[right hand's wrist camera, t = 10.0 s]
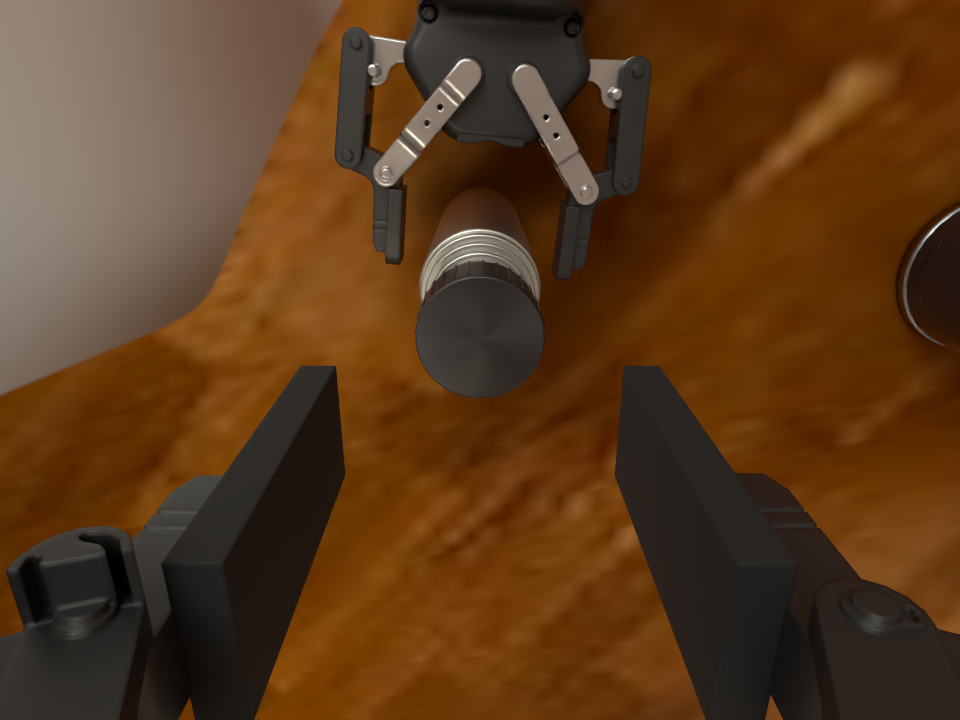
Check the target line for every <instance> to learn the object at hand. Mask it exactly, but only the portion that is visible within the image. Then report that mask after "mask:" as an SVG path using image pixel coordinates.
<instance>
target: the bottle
mask: <svg viewBox="0 0 960 720" xmlns="http://www.w3.org/2000/svg"><path fill="white" fill-rule="evenodd" d="M482 260H484V262H491V263H495V262H498V264H499V265H502V266H504V267H506V268H508V267H510V268H511V270H512V271H513V272H515V273H516V274H517V275H521V276H522V278H523V280H524V281H525V282H526V283H527V285H530V286H531V289H532V292H533V295H534V297H535V296H536V297H537V300H538V303H539V300H540V295H541V280H540V275H539V271H538V268H537V265H536V263H535V260H534V257H533V255H532V252H531V249H530V246H529V244H528V241H527V238H526V236H525V233H524V230H523V228H522V225H521V222H520V219H519V217H518V214H517V211H516V209H515V207H514V206H513V204H512V203H511V201H510V200H509V199H508V198H507V197H506V196H504V195H503V194H502V193H500V192H498V191H496V190H494V189H490V188H486V187H474V188H469V189H466V190H464V191H462V192H460V193H458V194H457V195H456V196H454V197H453V198H452V199H451V200H450V201H449V203H448V204H447V206H446V207H445V209H444V211H443V214H442V217H441V219H440V222H439V225H438V227H437V230H436V233H435V235H434V238H433V241H432V243H431V246H430V249H429V252H428V254H427V257H426V260H425V262H424V265H423V268H422V271H421V275H420V281H419V295H420V301H421V303H422V302H423V299H424V296H425V292H426V291H429V289H430V287H431V286H432V282H433V281H434V280H435V281H436V280H437V279H438V278H439V277H440V276H441V275H442V273H443V272H444V271H445V272H447V271H448V270H450V269H452V268H454V265H456V264H457V266H458V265H461V264H465V263H468V261H470V262H477V261H479V262H482Z"/></svg>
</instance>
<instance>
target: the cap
mask: <svg viewBox="0 0 960 720" xmlns="http://www.w3.org/2000/svg"><path fill="white" fill-rule="evenodd" d="M417 320H418V322H417V326H416V329H415V333H416V347H417V352H418V355H419V358H420V360H421V362H422V365H423V366H424V368H425V369H426V371H427V372H428V374H429V375H430V376H431V377H432V378H433V379H434V380H435V381H436V382H437V383H438V384H440V385H441V386H442V387H444V388H445V389H447V390H449V391H451V392H453V393H456V394H458V395H462V396H466V397H472V398H488V397H494V396H499V395H501V394H504V393H507V392H509V391H511V390H513V389H515V388H516V387H518V386H519V385H521V384H522V383H523V382H524V381H525V380H526V379H527V378H528V377H529V376H530V375H531V374H532V372H533V371H534V369H535V368H536V366H537V364H538V362H539V360H540V358H541V355H542V352H543V347H544V339H545V335H544V327H543V326H544V321H543V317H542V314H541V310H540V306H539V303H538V300H537V297H536V296H535V297H534V295H533V292H532V289H531V286H530V285H527V283H526V282H525V281H524V280H523V278H522V276H521V275H517V274H516V273H515V272H513V271H512V270H511V268H510V267H508V268H506V267H504V266H502V265H499V264H498V262H495V263H491V262H484V260H482V262H479V261H477V262H470V261H468V263H465V264H461V265H458V266H457V264H456V265H454V268H452V269H450V270H448V271H447V272H445V271H444V272H443V273H442V275H441V276H440V277H439V278H438V279H437V280H436V281H435V280H434V281H433V282H432V286H431V287H430V289H429V291H426V292H425V296H424V299H423V302H422V303H421V306H420V309H419V312H418V316H417Z"/></svg>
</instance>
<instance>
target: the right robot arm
mask: <svg viewBox="0 0 960 720" xmlns="http://www.w3.org/2000/svg"><path fill="white" fill-rule="evenodd" d="M344 477H345V466H344V455H343V443H342V432H341V420H340V409H339V397H338V386H337V374H336V366H301V367H300V368H299V369H298V371H297V372H296V374H295V375H294V377H293V378H292V379H291V381H290V382H289V384H288V385H287V386H286V388H285V389H284V391H283V392H282V393H281V395H280V396H279V398H278V399H277V401H276V402H275V403H274V405H273V406H272V408H271V409H270V410H269V412H268V413H267V415H266V416H265V418H264V419H263V420H262V422H261V423H260V425H259V426H258V427H257V429H256V430H255V432H254V433H253V435H252V436H251V437H250V439H249V440H248V442H247V443H246V444H245V446H244V447H243V449H242V450H241V451H240V453H239V454H238V456H237V457H236V459H235V460H234V461H233V463H232V464H231V466H230V467H229V468H228V470H227V471H226V473H225V474H224V476H196V477H194V478H193V479H191V480H189V481H188V482H186V483H185V484H183V485H182V486H180V487H179V488H177V489H176V490H174V491H173V492H172V493H171V494H170V495H169V496H168V497H167V499H166V500H165V501H164V502H163V504H162V505H161V506H160V507H159V509H158V510H157V514H154V515H153V516H152V517H151V518H150V520H149V521H148V522H147V523H146V525H145V526H144V530H141V531H140V532H139V533H138V534H137V536H136V537H135V538H134V539H133V541H132V538H131V537H130V536H129V535H128V534H127V533H125V532H124V531H123V530H122V529H117V528H112V527H107V526H100V527H86V528H80V529H76V530H73V531H69V532H65V533H61V534H58V535H56V536H54V537H51V538H49V539H47V540H45V541H42V542H40V543H38V544H36V545H35V546H33V547H32V548H30V549H29V550H27V551H26V552H24V553H23V554H21V555H20V556H18V557H17V559H16V560H15V561H14V562H13V563H12V564H11V566H10V567H9V568H8V569H7V570H6V574H7V577H8V580H9V583H10V586H11V589H12V592H13V595H14V598H15V601H16V604H17V607H18V610H19V613H20V616H21V620H22V623H23V626H24V628H23V630H22V632H20V633H16V634H13V635H8V636H4V637H0V720H178V719H179V717H180V715H181V713H182V711H183V709H184V707H185V705H186V703H187V701H188V699H189V697H190V699H191V703H192V708H193V712H194V717H195V720H254V719H255V716H256V713H257V711H258V708H259V705H260V703H261V700H262V697H263V694H264V692H265V689H266V686H267V684H268V681H269V678H270V676H271V673H272V670H273V668H274V665H275V662H276V660H277V657H278V654H279V651H280V649H281V646H282V643H283V641H284V638H285V635H286V633H287V630H288V627H289V625H290V622H291V619H292V617H293V614H294V611H295V608H296V606H297V603H298V600H299V598H300V595H301V592H302V590H303V587H304V584H305V582H306V579H307V576H308V574H309V571H310V568H311V566H312V563H313V560H314V557H315V555H316V552H317V549H318V547H319V544H320V541H321V539H322V536H323V533H324V531H325V528H326V525H327V523H328V520H329V517H330V514H331V512H332V509H333V506H334V504H335V501H336V498H337V496H338V493H339V490H340V488H341V485H342V482H343V480H344ZM615 477H616V480H617V482H618V485H619V488H620V490H621V493H622V496H623V498H624V501H625V504H626V506H627V509H628V512H629V514H630V517H631V520H632V523H633V525H634V528H635V531H636V533H637V536H638V539H639V541H640V544H641V547H642V549H643V552H644V555H645V557H646V560H647V563H648V566H649V568H650V571H651V574H652V576H653V579H654V582H655V584H656V587H657V590H658V592H659V595H660V598H661V600H662V603H663V606H664V608H665V611H666V614H667V617H668V619H669V622H670V625H671V627H672V630H673V633H674V635H675V638H676V641H677V643H678V646H679V649H680V651H681V654H682V657H683V660H684V662H685V665H686V668H687V670H688V673H689V676H690V678H691V681H692V684H693V686H694V689H695V692H696V694H697V697H698V700H699V703H700V705H701V708H702V711H703V713H704V716H705V719H706V720H765V717H766V712H767V708H768V703H769V699H770V694H771V696H772V698H773V700H774V702H775V704H776V706H777V708H778V710H779V712H780V714H781V716H782V718H783V720H960V634H955V633H951V632H947V631H943V630H940V629H937V627H936V625H935V624H934V623H933V621H932V620H931V618H930V617H929V616H928V614H927V613H926V611H925V610H923V609H922V608H921V607H919V606H918V605H917V604H916V603H914V602H913V601H912V600H910V599H909V598H908V597H906V596H904V595H902V594H900V593H898V592H896V591H894V590H892V589H890V588H888V587H887V586H884V585H880V584H877V583H874V582H870V581H867V580H863V579H861V578H860V577H859V576H858V574H857V573H856V572H855V571H854V569H853V568H852V567H851V566H850V565H849V563H848V562H847V561H846V560H845V558H844V557H843V556H842V555H841V554H840V552H839V551H838V550H837V549H836V547H835V546H834V545H833V544H832V542H831V541H830V540H829V539H828V538H827V536H826V535H825V534H824V533H823V531H822V530H821V529H820V528H817V526H816V523H815V522H814V520H813V519H812V518H811V517H810V516H809V514H808V513H807V512H804V508H803V507H802V506H801V505H800V503H799V502H798V501H797V500H796V498H795V497H794V496H793V495H792V494H791V492H790V491H789V490H788V489H787V488H785V487H783V486H782V485H780V484H779V483H777V482H776V481H774V480H773V479H771V478H769V477H768V476H766V475H765V474H763V473H734V471H733V470H732V468H731V467H730V466H729V464H728V463H727V461H726V460H725V459H724V457H723V456H722V454H721V453H720V451H719V450H718V449H717V447H716V446H715V444H714V443H713V442H712V440H711V439H710V437H709V436H708V435H707V433H706V432H705V430H704V429H703V427H702V426H701V425H700V423H699V422H698V420H697V419H696V418H695V416H694V415H693V413H692V412H691V410H690V409H689V408H688V406H687V405H686V403H685V402H684V401H683V399H682V398H681V396H680V395H679V393H678V392H677V391H676V389H675V388H674V386H673V385H672V384H671V382H670V381H669V379H668V378H667V377H666V375H665V374H664V372H663V371H662V369H661V368H660V367H659V366H624V374H623V386H622V397H621V409H620V420H619V432H618V443H617V455H616V466H615Z"/></svg>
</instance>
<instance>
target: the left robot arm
mask: <svg viewBox="0 0 960 720" xmlns="http://www.w3.org/2000/svg"><path fill="white" fill-rule="evenodd" d="M587 5H588V0H417V15H416V21H415V25H414V27H413V30H412V32H411V34H410V36H409V37H408V39H407V41H404V40H398V39H392V38H386V37H380V36H374V35H369V34H368V33H367V32H365V31H364V30H362V29H361V28H358V27H353V28H350V29H348V30H347V31H346V32H345V33H344V35H343V39H342V52H341V67H340V82H339V97H338V112H337V127H336V142H335V159H336V161H337V163H338V164H339V165H340V166H341V167H343V168H346V169H351V170H353V171H355V172H357V173H360V174H362V175H364V176H366V177H367V178H368V179H369V180H370V181H371V183H372V185H373V187H374V213H373V243H374V246H375V248H376V251H381V252H385V262H386V264H396V265H400V264H401V262H402V260H403V256H404V241H405V220H406V198H407V185H403V175H404V174H405V173H406V172H407V171H408V169H409V168H410V167H411V166H412V165H413V163H414V162H415V161H416V160H417V159H418V157H419V156H420V155H421V154H422V153H423V152H424V150H425V149H426V148H427V147H428V146H429V145H430V144H431V142H432V141H433V140H434V139H435V138H436V136H437V135H438V134H439V133H440V132H441V130H443V132H444V133H445V134H447V135H448V136H449V137H451V138H453V139H455V140H457V142H466V143H477V142H482V141H487V140H492V141H494V142H497V143H500V144H502V145H505V146H509V147H519V148H523V146H527V145H530V144H532V143H534V142H536V141H537V140H539V142H540V144H541V146H542V148H543V149H544V151H545V153H546V155H547V156H548V158H549V160H550V161H551V163H552V164H553V166H554V168H555V169H556V171H557V173H558V175H559V177H560V178H561V180H562V182H563V184H564V185H565V187H566V189H567V195H566V200H561V205H560V213H559V220H558V228H557V236H556V243H555V251H554V258H553V268H552V272H553V275H554V277H555V279H559V280H570V277H571V272H572V269H577V270H581V268H582V266H583V265H584V263H585V261H586V256H587V249H588V243H589V236H590V230H591V223H592V216H593V211H594V208H595V206H596V205H597V204H598V203H599V202H600V201H601V200H603V199H606V198H610V197H613V196H617V195H621V194H622V195H629V194H631V193H633V192H634V191H635V190H636V189H637V187H638V184H639V177H640V168H641V159H642V151H643V142H644V133H645V124H646V115H647V106H648V98H649V89H650V80H651V70H652V69H651V64H650V62H649V61H648V60H647V59H646V58H644V57H641V56H637V57H631V58H629V59H626V60H604V59H589V56H588V54H587V51H586V47H585V42H584V28H585V20H586V13H587ZM400 64H404V65H405V68H406V70H407V72H408V73H409V75H410V77H411V78H412V80H413V82H414V84H415V85H416V87H417V89H418V90H419V92H420V94H421V96H422V97H423V99H424V101H425V102H426V103H425V104H424V105H423V106H422V108H421V109H420V110H419V111H418V112H417V114H416V115H415V116H414V117H413V119H412V120H411V121H410V122H409V123H408V125H407V126H406V127H405V128H404V130H403V131H402V132H401V134H400V135H399V137H398V138H397V139H396V141H395V142H394V143H393V144H392V145H391V147H390V148H389V149H388V150H387V152H386V153H383V152H381V151H379V150H377V149H375V148H373V147H371V146H370V137H371V125H372V114H373V102H374V90H375V86H378V87H379V86H383V85H385V84H386V83H387V82H388V81H389V79H390V76H391V72H392V70H393V69H394V68H395V67H396V66H397V65H400ZM587 82H589V83H592V84H593V85H594V86H595V87H596V89H597V92H598V100H599V103H600V104H601V105H602V106H603V107H604V108H607V109H611V110H610V120H609V131H608V142H607V152H606V163H605V169H602V170H598V171H594V172H590V170H589V168H588V166H587V165H586V163H585V161H584V159H583V157H582V155H581V153H580V150H579V148H578V146H577V144H576V142H575V140H574V138H573V137H572V135H571V133H570V131H569V129H568V127H567V126H566V124H565V122H564V120H563V118H562V116H561V114H562V113H563V111H564V110H565V109H566V108H567V107H568V106H569V104H570V103H571V102H572V101H573V100H574V98H575V97H576V96H577V95H578V94H579V93H580V91H581V90H582V89H583V88H584V87H585V85H586V84H587ZM897 298H898V304H899V307H900V310H901V313H902V315H903V317H904V318H905V320H906V321H907V323H908V324H909V325H910V326H911V327H912V329H914V330H915V331H916V332H917V333H918V334H920V335H922V336H923V337H925V338H927V339H929V340H931V341H933V342H935V343H937V344H940V345H943V346H946V347H949V348H951V349H953V350H955V351H957V352H959V353H960V202H959V203H956V204H955V205H953V206H951V207H949V208H947V209H946V210H944V211H943V212H941V213H940V214H939V215H937V216H936V217H935V218H933V219H932V220H931V221H930V222H929V223H928V224H927V225H926V226H925V227H924V228H923V229H922V230H921V231H920V232H919V234H918V235H917V236H916V237H915V239H914V240H913V242H912V243H911V245H910V246H909V248H908V250H907V252H906V254H905V256H904V258H903V261H902V263H901V266H900V270H899V273H898V279H897Z"/></svg>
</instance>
